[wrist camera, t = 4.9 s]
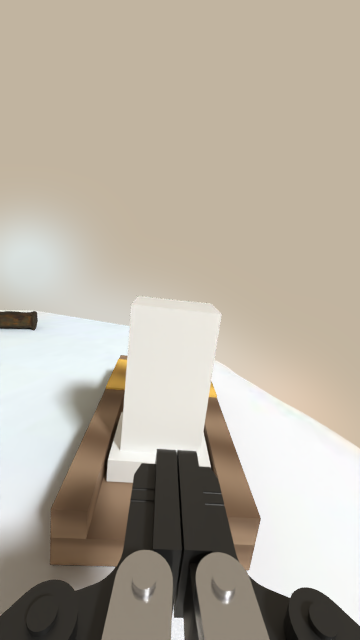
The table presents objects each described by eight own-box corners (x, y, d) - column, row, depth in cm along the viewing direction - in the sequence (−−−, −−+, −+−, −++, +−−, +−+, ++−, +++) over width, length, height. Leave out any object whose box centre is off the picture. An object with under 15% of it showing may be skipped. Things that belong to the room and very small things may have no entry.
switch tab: (207, 486, 20) (235, 318, 17) (106, 481, 19) (118, 306, 16) (197, 434, 26) (217, 302, 23) (120, 429, 25) (130, 293, 22)
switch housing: (248, 570, 17) (261, 515, 16) (50, 564, 16) (50, 506, 15) (200, 387, 40) (204, 361, 39) (118, 381, 39) (121, 353, 38)
